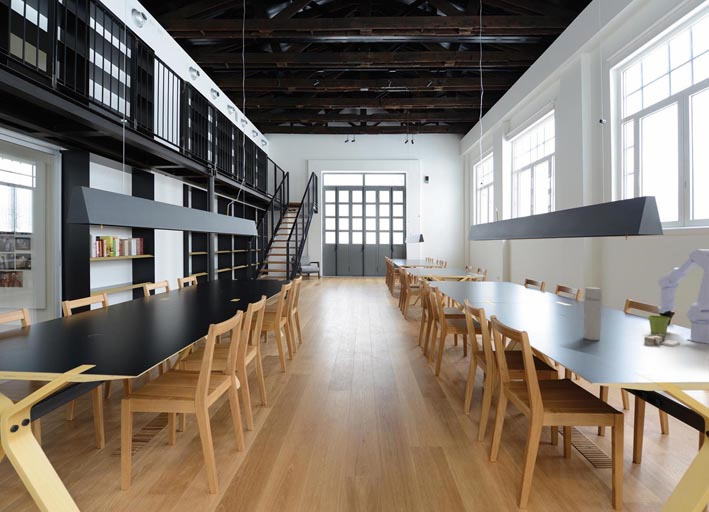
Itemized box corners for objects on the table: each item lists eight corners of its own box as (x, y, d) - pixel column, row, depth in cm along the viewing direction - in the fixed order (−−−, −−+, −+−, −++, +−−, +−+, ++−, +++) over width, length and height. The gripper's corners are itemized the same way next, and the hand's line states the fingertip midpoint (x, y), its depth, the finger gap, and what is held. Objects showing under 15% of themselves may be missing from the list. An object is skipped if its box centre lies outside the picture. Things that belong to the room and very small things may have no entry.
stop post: (660, 345, 180) (660, 337, 179) (658, 345, 179) (658, 338, 179) (655, 344, 181) (656, 336, 181) (654, 344, 180) (654, 337, 180)
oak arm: (659, 341, 187) (659, 333, 186) (666, 342, 184) (666, 335, 184) (644, 343, 182) (644, 336, 182) (651, 345, 179) (651, 337, 179)
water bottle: (603, 341, 186) (605, 289, 185) (585, 340, 188) (587, 288, 186) (595, 336, 195) (597, 286, 194) (578, 335, 197) (580, 286, 195)
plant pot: (642, 332, 204) (643, 316, 203) (653, 330, 208) (654, 314, 207) (663, 336, 195) (664, 319, 195) (673, 334, 199) (674, 317, 199)
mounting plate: (679, 344, 182) (679, 341, 182) (672, 346, 177) (672, 344, 177) (668, 341, 185) (668, 339, 185) (661, 344, 181) (661, 342, 181)
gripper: (664, 297, 213) (663, 322, 213) (652, 299, 205) (651, 325, 206) (680, 299, 207) (679, 324, 207) (668, 301, 199) (667, 328, 200)
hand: (666, 325), depth 206 cm, fingers closed
